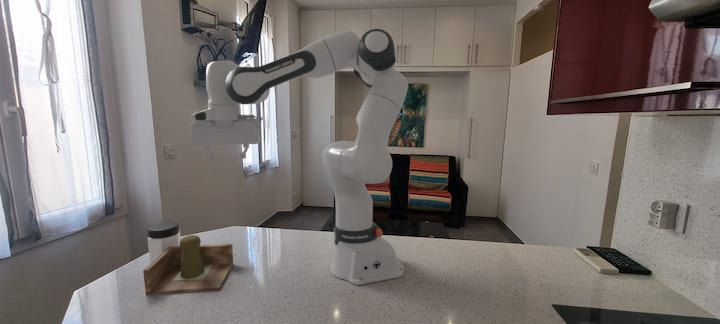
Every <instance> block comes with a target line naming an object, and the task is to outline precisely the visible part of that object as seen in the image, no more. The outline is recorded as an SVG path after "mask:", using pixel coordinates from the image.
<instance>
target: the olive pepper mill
mask: <svg viewBox="0 0 720 324" xmlns="http://www.w3.org/2000/svg"><path fill="white" fill-rule="evenodd" d="M201 242H202V241H201V238H200V237H199V236H198V235H194V234H191V235H185V236H184V237H182V238H181V240H180V243H179V244H180V248H181V249H182V260H181V273H180V276H181V278H184V279H190V278H195V277H198V276H200V275H201V274H203V273H204V267H203V263H202V259H201V255H200V250H199V246H200V245H201Z"/></svg>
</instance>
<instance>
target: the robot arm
mask: <svg viewBox="0 0 720 324" xmlns="http://www.w3.org/2000/svg"><path fill="white" fill-rule="evenodd" d="M395 50H396V48H395V43H394V41H393V38H392V36H391V34H390V33H389V32H388V31H386V30H384V29H381V28H373V29H369V30H367V31H366V32H365V33H364V34H362V36H361V38H360V37H359V35H357V33H356V32H354V31H352V30H346V31H341V32H335V33H333V34H330V35H327V36H324V37H322V38H320V39H317V40H315V41H313V42H311V43H309V44H307V45H306V46H304V47H302V48H301V49H299V50H297V51H296V52H294V53H291V54H290V55H288V56H287V55H286V56H284V57H281V58H280V59H279V58H278V59H277V60H274V61H270V62H269V63H266V64H263V65H259V66H253V67H252V66H241V65H238V64H237V63H235V62H234V61H233V60H229V59H219V60H213V61H211V62H209V63H208V64H207V66H206V72H205V83H206V86H205V88H206V92H207V96H208V101H207V108H206V109H204V110H201V111H198V112H194V113H192V114H191V115H190V116H191V117H190V118H191V120H192V121H193V122H191V124H190V127H189V142H190V143H191V144H192V145H193V146H203V150H204V151H205V152H206V153H207V155H208V160H215V159H216V154H215V152H212V151H211V148H212V147H211V146H218V145H219V146H221V145H224V146H225V145H229V146H230V145H242V148H244V149H243V151H242V152H240V153H239V156H240V157H239V158H240V159H242V160H245V159H246V158H247V152H248V149H249V148H250V145H257V144H259V143H260V142H261V135H260V127H261V126H260V125H261V123H260V118H259V117H258V116H257V115H256V116H255V115H254V114H240V105H258V104H261V103H263V102H265V101H266V100H267V99H268V97H269V95H270V90H271V89H272V88H275V87H276V86H279V85H283V84H284V83H287V82H289V81H291V80H294V79H298V78H299V79H300V78H311V79H319V78H320V79H321V78H324V77H327V76H330V75H333V74H336V73H338V72H340V71H342V70H345V69H349V68H351V69H353V73H354V74H355V76H356V77H358V78H359V80H360V81H361V82H362V84H363V85H364V86H366V87H368V88H369V92H368V94H367V96H366V97H365V99H364V100H363V103H362V104H361V107H360V109H359V111H358V113H357V115H356V118H355V122H356V123H355V124H356V125H357V127H358V131H357V135H356V138H355V139H354V141H350V140H338V141H333V142H331V143H328V145H326V147H325V148H324V149H323V152H322V157H321V158H322V159H321V160H322V161H321V162H322V164H323V166H324V167H325V169H326V170H327V173H328V176H329V178H330V181H331V187H332V190H333V194H334V200H335V201H334V202H335V223H334V227H333V242H334V248H333V254H332V261H331V262H330V263H331V264H330V266H329V270H330V272H331V274H333V275H334V276H335V277H337V278H339V279H341V280H345V281H347V282H349V283H350V284H353V285H355V286H356V285H357V286H360V285H364V284H370V283H375V282H381V281H386V280H392V279H398V278H403V276H404V275H405V266H404V264H403V262H402V261H401V259H400V258H399V257H398V256H397V254H396V251H395V249H394V246H393V245H392V244H391V243H390V242H389V241H388V240H386V239H385V238H383V234H384V232H383V229H381V228H380V227H379V226H378V225H377V224H376V223H375V222H373V218H374V217H373V215H374V214H373V211H374V208H373V207H374V201H373V198H372V195H371V194H370V192H369V191H368V188H367V187H366V184H367V185H368V184H369V185H370V184H371V185H373V184H375V185H376V184H381V183H384V182H385V181H386V180H387V179H388V178H389V177H390V174H391V173H392V170H393V169H392V168H393V159H392V156H391V154H390V151H389V139H390V135H391V132H392V130H393V128H394V125H395V122H396V121H397V118H398V117H399V114H400V112H401V110H402V108H403V105H404V102H405V99H406V97H407V93H408V90H409V82H408V80H407V77H406V76H405V75H404V74H403V73H401V72H399V71H397V70H396V69H395V67H394V66H395V64H396V62H397V61H396V51H395Z"/></svg>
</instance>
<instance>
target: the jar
mask: <svg viewBox="0 0 720 324" xmlns="http://www.w3.org/2000/svg"><path fill="white" fill-rule="evenodd" d="M147 235H148V237H147V245H148V246H147V247H148V256H149V257H148V258H149V265H150V264H151V263H152V262H153V261H154V260H155V259H156V258H157V257H158V256H160V255H161V254H162V253H163V252H164V251H165V250H166V249H167V248H168V247H172V246H180V244H179V243H180V240H181V239H182V238H181V230H180V224H179V222H178V221H171V220H170V221H162V222H157V223H154V224H151V225H149V226H148V227H147Z"/></svg>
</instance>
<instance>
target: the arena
mask: <svg viewBox="0 0 720 324" xmlns="http://www.w3.org/2000/svg"><path fill="white" fill-rule="evenodd" d="M199 250H200V255H201V259H202V263H203V267H204V273H203V274H201V275H200V276H198V277H195V278H190V279H184V278H181V276H180V273H181V260H182V249H181V248H180V246H172V247H168V248H167V249H166V250H165V251H164V252H163V253H162V254H161V255H160V256H158V257H157V258H156V259H155V260H154V261H153V262H152V263H151V264H150V263H149V264H148V265H147V266H146V267H145V268H144V269H143V271H142V273H143V280H144V281H143V282H144V289H145V295H149V296H151V295H163V294H164V295H165V294H179V293H193V292H208V291H211V292H212V291H220V290H221V288H222V287H223V284H224V282H225V280H226V278H227V277H228V276H229V273H230V271H231V270H232V268H233V266H234V254H233V253H234V251H233V243H219V244H200V246H199Z"/></svg>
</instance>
